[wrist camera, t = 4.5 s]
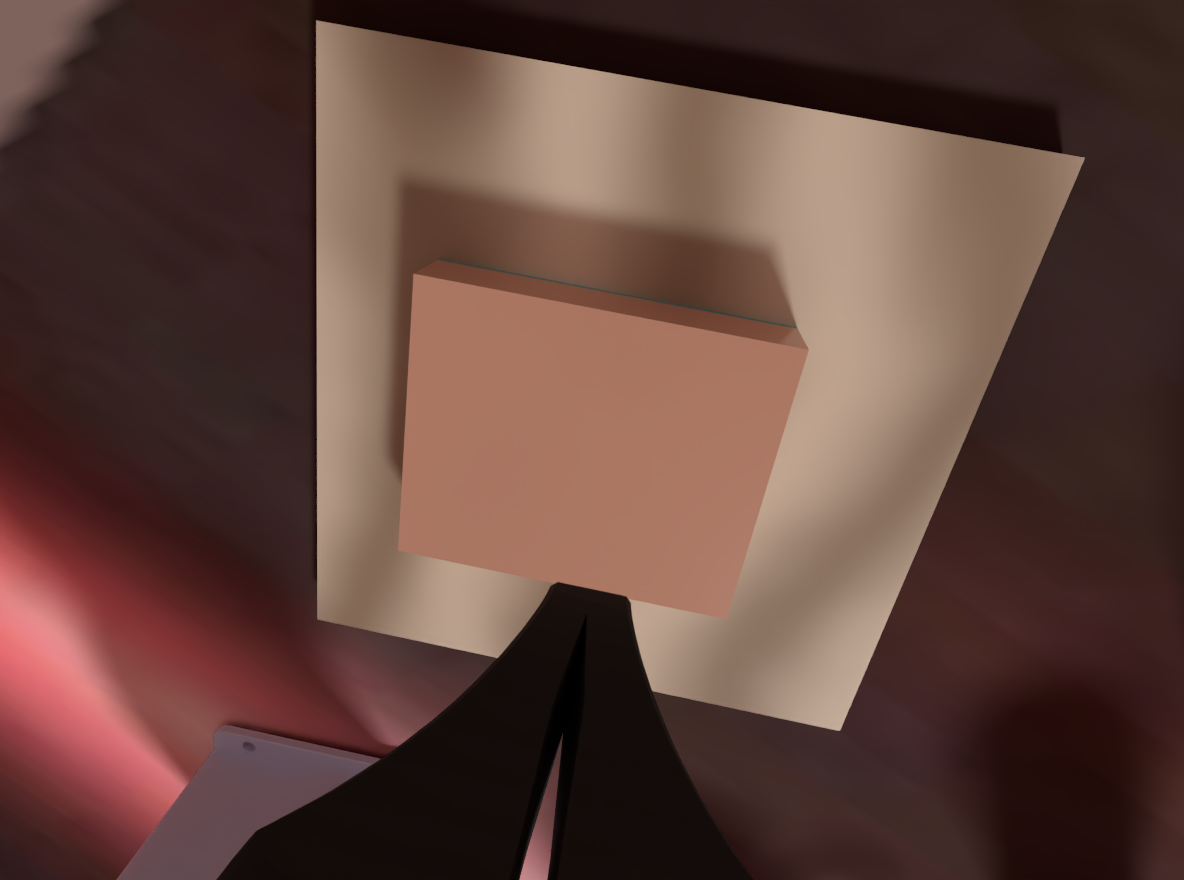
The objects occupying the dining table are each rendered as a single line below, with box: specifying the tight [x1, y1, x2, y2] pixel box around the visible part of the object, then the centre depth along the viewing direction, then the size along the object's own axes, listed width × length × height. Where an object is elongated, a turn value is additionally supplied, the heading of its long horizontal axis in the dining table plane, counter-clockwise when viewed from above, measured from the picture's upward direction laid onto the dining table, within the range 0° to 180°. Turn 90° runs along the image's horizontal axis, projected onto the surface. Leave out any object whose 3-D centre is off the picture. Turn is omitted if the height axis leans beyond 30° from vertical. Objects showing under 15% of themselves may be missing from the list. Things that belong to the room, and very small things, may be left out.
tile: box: [398, 259, 809, 619], centre depth 20 cm, size 2×8×10 cm
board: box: [316, 20, 1085, 731], centre depth 21 cm, size 18×18×1 cm
